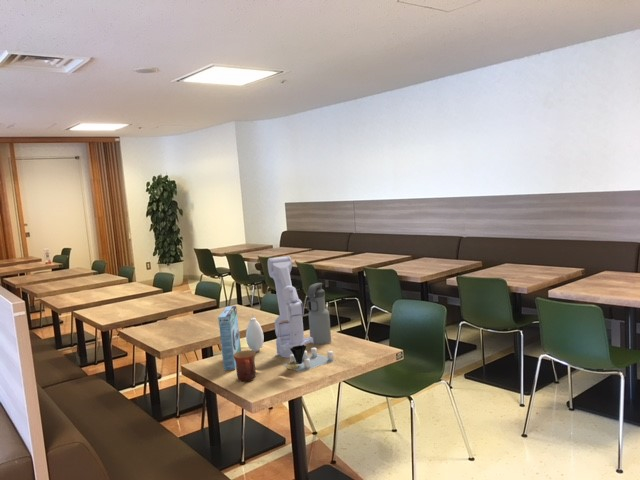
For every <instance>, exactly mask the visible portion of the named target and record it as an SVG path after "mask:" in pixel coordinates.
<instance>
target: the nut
mask: <svg viewBox="0 0 640 480" xmlns="http://www.w3.org/2000/svg"><path fill="white" fill-rule="evenodd" d="M286 363H287V369H288V370H293V369H297V368H298V362H296V361H292V362H290V361H288V362H286Z"/></svg>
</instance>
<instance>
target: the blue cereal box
mask: <svg viewBox="0 0 640 480" xmlns="http://www.w3.org/2000/svg"><path fill="white" fill-rule="evenodd" d="M218 325H219V333H220V334H219V336H220V345H221V354H222V364H223V365H222V366H223V371H232V370H236V362H235V359H234V357H233V355H234V354H235V353H237V352H240V351H242V347H241V339H240V327H239V319H238V309H237V305H231V306H226V307H224V310H223V311H222V312H221V313H220V314H219V316H218Z"/></svg>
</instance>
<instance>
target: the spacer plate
mask: <svg viewBox="0 0 640 480" xmlns="http://www.w3.org/2000/svg"><path fill="white" fill-rule="evenodd" d="M310 352H311V353H310V354H311V355H308V351H307V350H305V352H304V355H303V359H302V364H298V368H297V369H293V370H294V371H295V372H298V373H302V372H306V371H309V370H311V369H314V368H318V367H321V366H324V365H326V364H329V363H333V362H335V361H336V360H335V358H334V357H335V356H334V351H332V350H328V351H327V356H324V355H322V354H319V353H318V351H317V347H311V348H310ZM292 361H296V360H295V357H294V355H293V354H291V355H290V358H289V362H292ZM287 363H288V362H286V363H283V364H282V365H283V366H285V367H287Z"/></svg>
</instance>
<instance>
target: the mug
mask: <svg viewBox="0 0 640 480" xmlns="http://www.w3.org/2000/svg"><path fill="white" fill-rule="evenodd" d="M256 352H257V351H256ZM256 352H255V351H252V350H251V349H249V350H241V351H240V352H237V353H235V354H234V355H233V357H234V359H235V362H236V368H235V370H236V377H237V380H238V381H239V382H242V383H247V382H251V381H253V380H254V379H256V375H257V372H256V370H257V369H256V365H255V364H256V363H255V360H256Z"/></svg>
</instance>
